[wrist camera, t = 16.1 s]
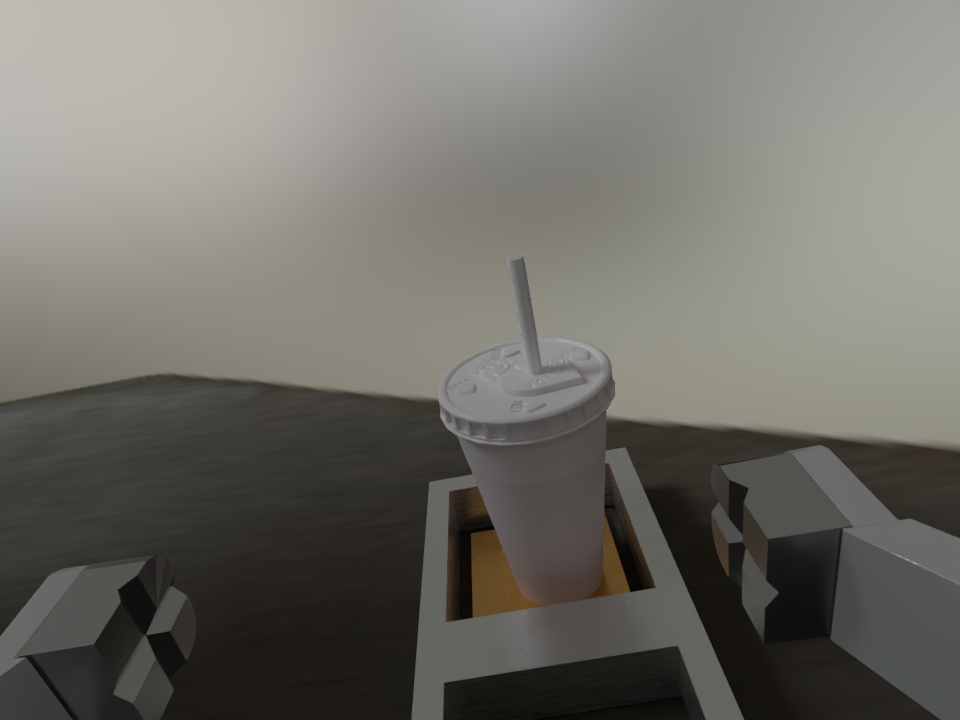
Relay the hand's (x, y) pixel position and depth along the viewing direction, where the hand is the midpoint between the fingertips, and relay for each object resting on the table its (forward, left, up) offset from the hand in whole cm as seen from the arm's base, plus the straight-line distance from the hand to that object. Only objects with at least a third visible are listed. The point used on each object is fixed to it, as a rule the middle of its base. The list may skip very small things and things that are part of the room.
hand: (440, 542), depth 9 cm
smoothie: (+2, +13, -14) cm, 19 cm away
